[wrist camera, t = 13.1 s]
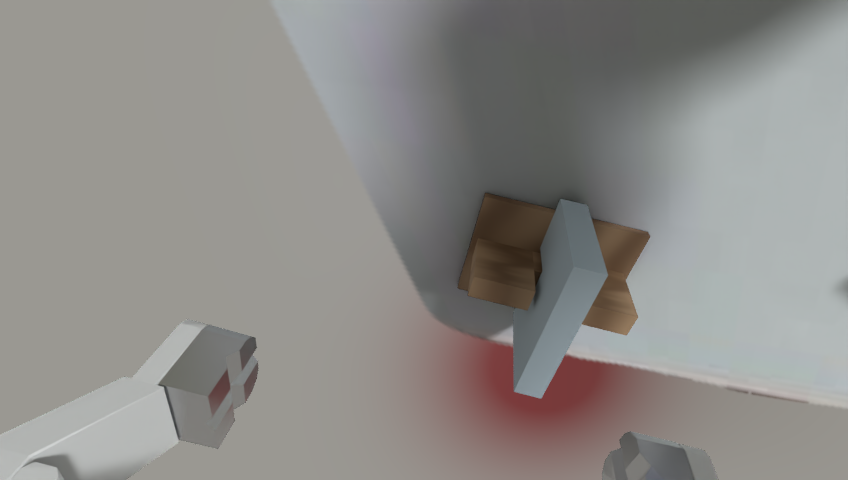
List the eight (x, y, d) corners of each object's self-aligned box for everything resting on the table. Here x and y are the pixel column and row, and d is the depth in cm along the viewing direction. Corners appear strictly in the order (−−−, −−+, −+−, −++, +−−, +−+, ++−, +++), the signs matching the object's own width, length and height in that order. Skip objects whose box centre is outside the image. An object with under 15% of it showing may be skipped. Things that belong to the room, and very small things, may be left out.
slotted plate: (560, 198, 39) (573, 266, 31) (587, 205, 39) (608, 275, 31) (513, 313, 47) (513, 391, 39) (535, 318, 47) (541, 398, 39)
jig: (647, 232, 40) (670, 278, 35) (598, 318, 47) (610, 369, 41) (485, 192, 41) (481, 232, 35) (458, 283, 47) (451, 329, 41)
